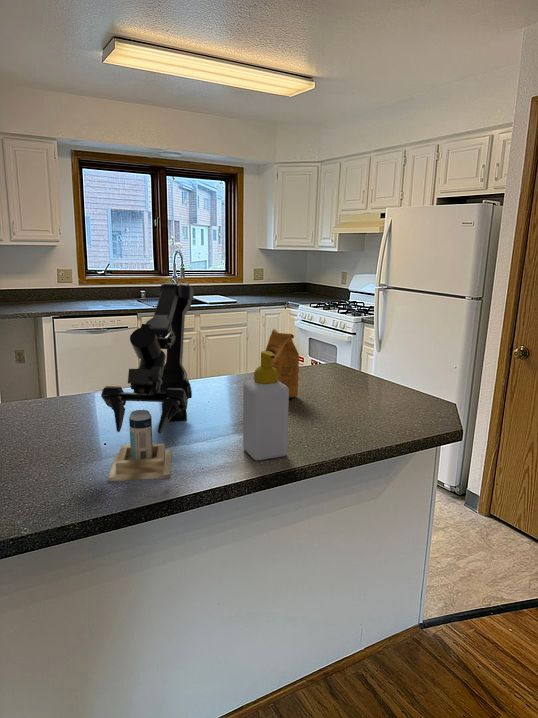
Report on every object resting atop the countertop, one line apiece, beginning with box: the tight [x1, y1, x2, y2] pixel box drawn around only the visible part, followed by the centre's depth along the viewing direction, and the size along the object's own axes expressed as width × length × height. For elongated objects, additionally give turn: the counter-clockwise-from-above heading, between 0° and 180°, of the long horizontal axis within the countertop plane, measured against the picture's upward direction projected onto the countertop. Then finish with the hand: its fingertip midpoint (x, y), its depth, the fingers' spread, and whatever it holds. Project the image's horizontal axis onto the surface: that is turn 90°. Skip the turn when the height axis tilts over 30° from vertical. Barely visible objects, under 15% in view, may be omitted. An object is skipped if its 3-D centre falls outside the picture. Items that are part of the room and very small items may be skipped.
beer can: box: [128, 409, 153, 460], centre depth 113 cm, size 5×5×12 cm
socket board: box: [107, 442, 173, 482], centre depth 114 cm, size 13×13×3 cm
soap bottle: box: [242, 350, 290, 461], centre depth 120 cm, size 9×9×25 cm
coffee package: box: [265, 328, 300, 399], centre depth 167 cm, size 10×12×22 cm
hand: (138, 432), depth 111 cm, fingers open, 9 cm apart
